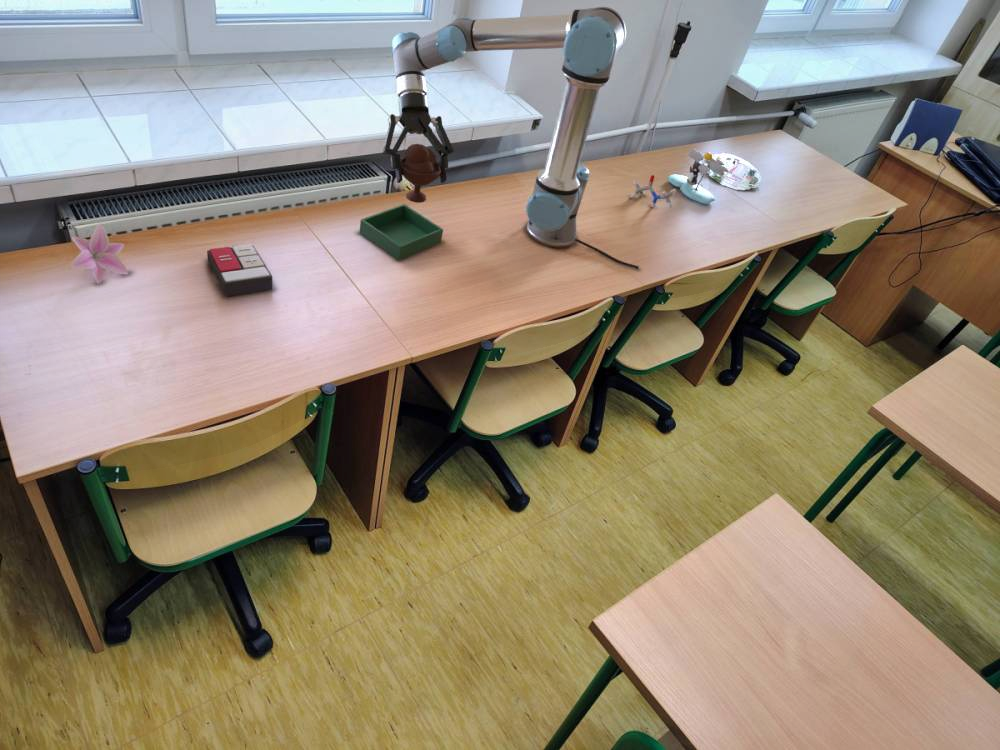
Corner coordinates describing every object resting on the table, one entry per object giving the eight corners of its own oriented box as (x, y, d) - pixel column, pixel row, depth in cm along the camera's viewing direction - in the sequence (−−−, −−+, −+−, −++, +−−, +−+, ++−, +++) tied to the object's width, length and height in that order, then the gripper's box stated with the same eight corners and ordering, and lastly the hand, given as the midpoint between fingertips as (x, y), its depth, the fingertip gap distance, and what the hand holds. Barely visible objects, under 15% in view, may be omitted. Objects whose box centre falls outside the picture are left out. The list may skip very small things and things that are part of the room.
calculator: (253, 241, 174) (272, 274, 165) (253, 256, 177) (273, 289, 168) (206, 247, 168) (223, 281, 159) (207, 262, 171) (225, 296, 162)
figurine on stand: (661, 179, 260) (677, 140, 250) (682, 177, 265) (698, 139, 256) (697, 207, 249) (714, 168, 239) (718, 205, 254) (736, 166, 244)
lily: (64, 289, 155) (75, 265, 149) (58, 243, 158) (68, 219, 152) (124, 293, 163) (136, 271, 157) (116, 249, 167) (128, 226, 161)
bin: (441, 242, 198) (443, 229, 195) (398, 260, 187) (400, 246, 185) (402, 216, 204) (404, 203, 201) (359, 233, 193) (360, 219, 190)
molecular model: (674, 215, 241) (686, 187, 236) (661, 216, 235) (673, 187, 230) (634, 195, 250) (644, 167, 245) (620, 194, 244) (631, 166, 239)
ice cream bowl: (431, 212, 185) (439, 158, 175) (389, 200, 185) (395, 146, 175) (441, 194, 193) (449, 142, 183) (401, 183, 193) (408, 130, 183)
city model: (697, 184, 269) (704, 170, 264) (697, 152, 284) (703, 139, 280) (760, 202, 269) (768, 189, 265) (756, 170, 285) (764, 156, 280)
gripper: (450, 104, 191) (459, 185, 191) (364, 100, 182) (373, 185, 182) (460, 93, 184) (469, 177, 184) (370, 88, 175) (380, 176, 175)
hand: (422, 181), depth 183 cm, fingers closed on ice cream bowl, 11 cm apart
